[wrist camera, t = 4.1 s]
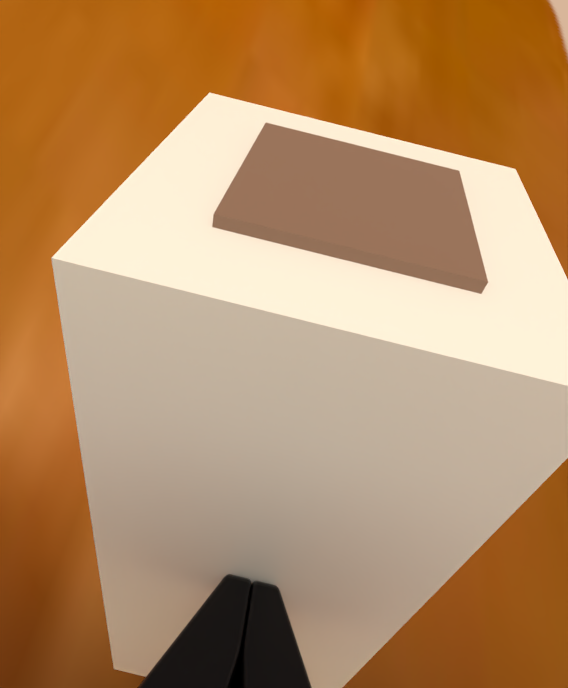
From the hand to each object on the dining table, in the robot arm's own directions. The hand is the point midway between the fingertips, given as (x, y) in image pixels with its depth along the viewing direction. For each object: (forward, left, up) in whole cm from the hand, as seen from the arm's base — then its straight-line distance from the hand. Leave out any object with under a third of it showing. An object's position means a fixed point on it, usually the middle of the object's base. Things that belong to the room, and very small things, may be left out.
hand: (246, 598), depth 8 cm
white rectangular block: (0, 0, -7) cm, 7 cm away
